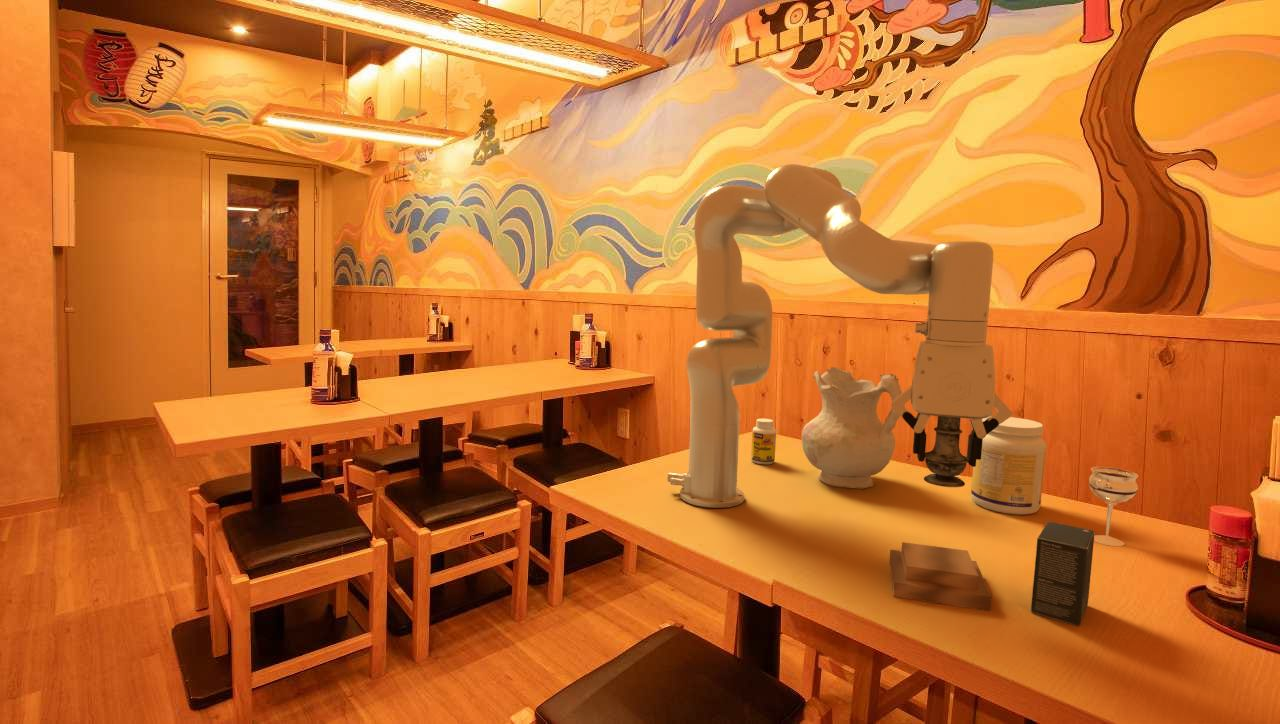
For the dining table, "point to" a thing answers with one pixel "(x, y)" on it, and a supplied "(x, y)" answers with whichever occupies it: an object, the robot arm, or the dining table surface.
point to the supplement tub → (1010, 468)
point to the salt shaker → (946, 454)
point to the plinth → (938, 576)
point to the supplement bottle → (763, 442)
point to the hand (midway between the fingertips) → (945, 460)
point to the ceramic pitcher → (850, 429)
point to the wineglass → (1112, 494)
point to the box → (1062, 572)
